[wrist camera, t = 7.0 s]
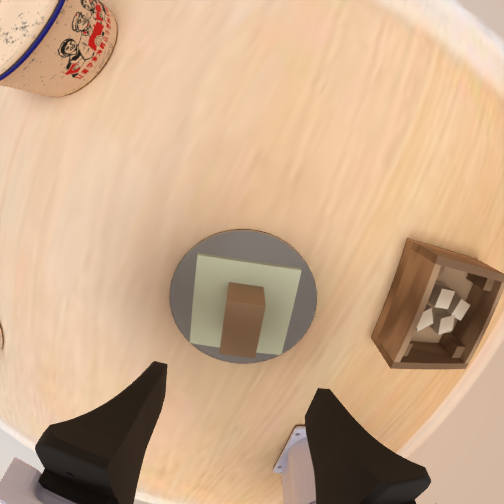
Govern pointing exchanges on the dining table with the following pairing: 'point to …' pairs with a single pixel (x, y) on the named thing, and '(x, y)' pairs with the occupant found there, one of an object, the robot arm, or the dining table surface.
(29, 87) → the teacup with lid
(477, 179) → the dining table surface
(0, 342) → the supplement tub
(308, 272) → the coaster
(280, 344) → the lid
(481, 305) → the brown wooden open box
